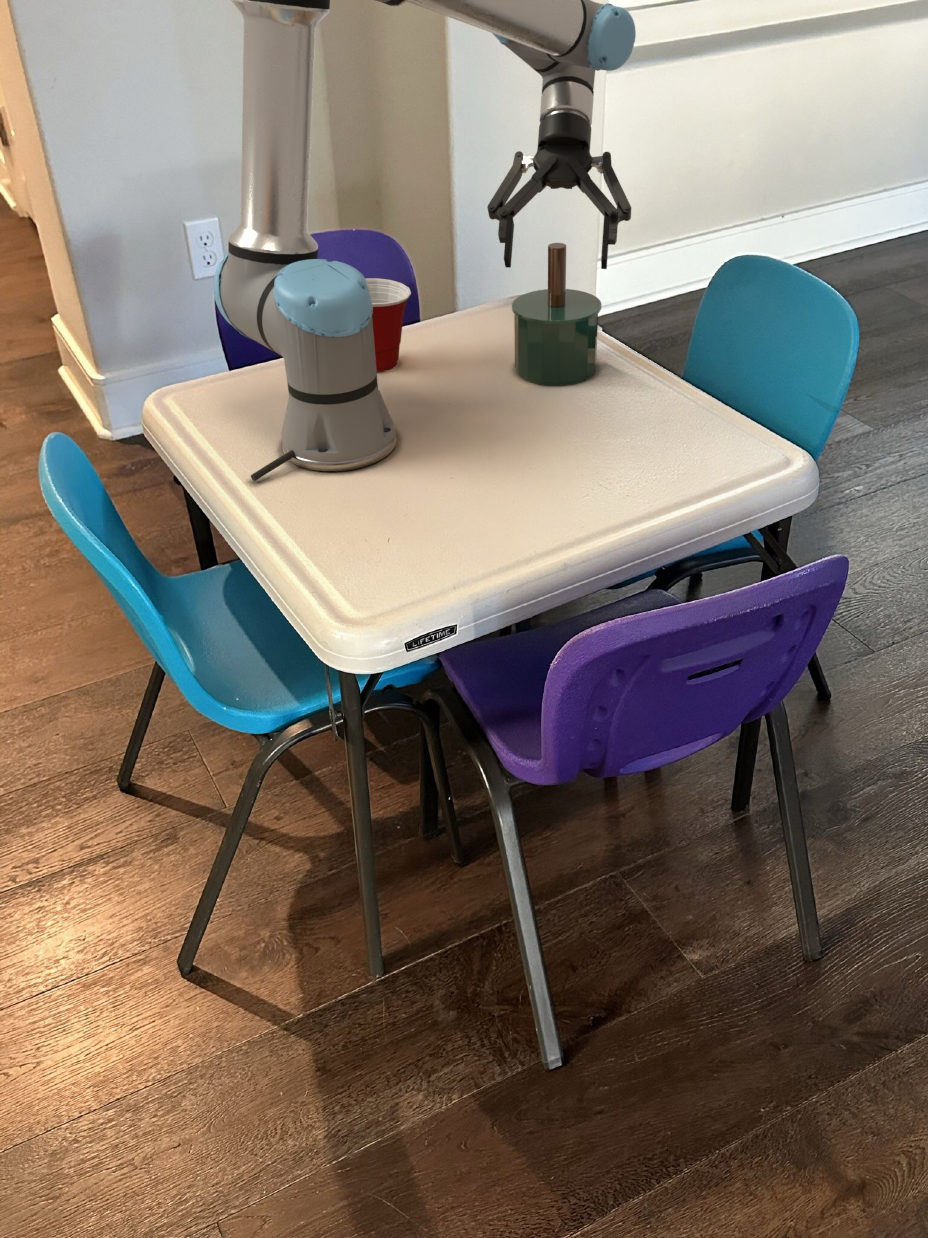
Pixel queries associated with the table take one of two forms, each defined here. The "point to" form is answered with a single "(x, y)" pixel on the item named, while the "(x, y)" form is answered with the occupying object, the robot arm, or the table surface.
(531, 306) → the lid
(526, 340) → the pot
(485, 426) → the table surface
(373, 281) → the plastic cup
